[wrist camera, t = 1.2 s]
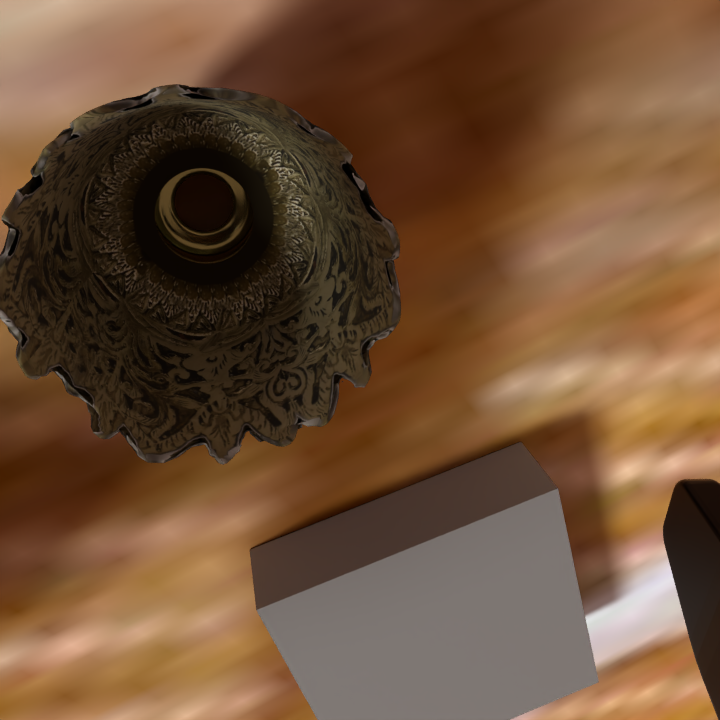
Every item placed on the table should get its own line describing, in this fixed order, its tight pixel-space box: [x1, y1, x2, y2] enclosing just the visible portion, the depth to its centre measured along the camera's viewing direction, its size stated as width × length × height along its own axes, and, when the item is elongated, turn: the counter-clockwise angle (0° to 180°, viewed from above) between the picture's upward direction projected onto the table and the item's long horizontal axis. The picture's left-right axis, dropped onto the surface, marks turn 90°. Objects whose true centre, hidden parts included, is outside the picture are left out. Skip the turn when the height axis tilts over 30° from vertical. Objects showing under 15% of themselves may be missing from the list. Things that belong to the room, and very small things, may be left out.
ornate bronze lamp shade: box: [0, 84, 401, 464], centre depth 16 cm, size 8×7×8 cm
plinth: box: [250, 442, 599, 720], centre depth 27 cm, size 11×11×3 cm
